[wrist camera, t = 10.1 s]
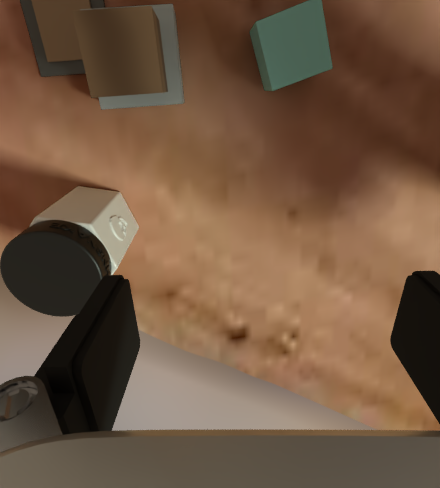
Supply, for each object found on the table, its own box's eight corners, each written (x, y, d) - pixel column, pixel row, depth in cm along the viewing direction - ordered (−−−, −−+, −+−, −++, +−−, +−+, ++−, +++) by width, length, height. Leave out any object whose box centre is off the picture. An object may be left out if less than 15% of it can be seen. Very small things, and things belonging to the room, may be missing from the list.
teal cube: (303, 10, 28) (320, -5, 23) (315, 71, 30) (332, 68, 26) (249, 32, 29) (255, 21, 24) (264, 90, 31) (272, 91, 26)
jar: (150, 241, 38) (124, 304, 27) (90, 264, 39) (42, 332, 28) (111, 171, 34) (64, 211, 23) (46, 198, 35) (-28, 248, 24)
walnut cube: (159, 20, 25) (151, 5, 20) (168, 92, 27) (162, 92, 22) (94, 24, 24) (71, 10, 20) (108, 96, 27) (91, 97, 22)
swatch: (99, -25, 27) (96, -27, 26) (117, 71, 30) (115, 70, 29) (16, -18, 27) (12, -20, 26) (42, 76, 30) (39, 76, 29)
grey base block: (175, 14, 28) (172, 3, 24) (184, 101, 31) (183, 103, 27) (94, 19, 28) (79, 9, 24) (112, 107, 31) (101, 109, 27)
